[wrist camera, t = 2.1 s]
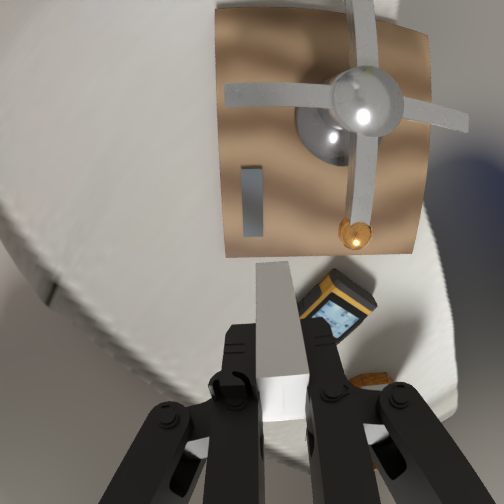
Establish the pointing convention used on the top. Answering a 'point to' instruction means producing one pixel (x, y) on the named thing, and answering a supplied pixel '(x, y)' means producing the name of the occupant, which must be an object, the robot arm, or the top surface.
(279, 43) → the wooden board
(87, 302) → the top surface
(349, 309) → the electronic device
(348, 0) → the capstan
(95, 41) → the top surface
